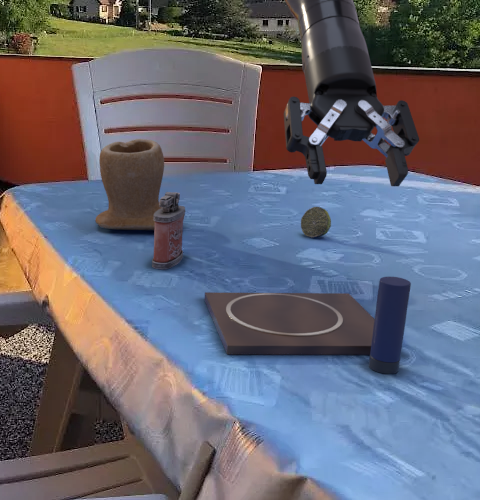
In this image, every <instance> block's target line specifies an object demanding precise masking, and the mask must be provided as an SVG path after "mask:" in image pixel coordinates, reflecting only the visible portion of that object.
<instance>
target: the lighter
mask: <svg viewBox="0 0 480 500" xmlns="http://www.w3.org/2000/svg"><path fill="white" fill-rule="evenodd" d="M180 195H181V193H180V192H177V191H175V192H174V191H172V192H171V191H166V192H165V193H164V195H163V196H161V197H160V198H159V207H163V208H161V209H159V210H157V211H156V212H155V213H154V218H153V220H154V221H155V230H153V231H154V233H153V234H154V235H153V237H154V239H153V258H152V260H151V267H152V268H153V269H156V270H169V269H171V268H174V267H175V266H177V265H178V264H179V263H180V262H181V261H182V259H183V257H184V250H183V232H184V220H183V215H184V213H185V214H186V207H185V206H184V205H180V204H179V202H180Z"/></svg>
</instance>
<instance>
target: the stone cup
mask: <svg viewBox="0 0 480 500" xmlns="http://www.w3.org/2000/svg"><path fill="white" fill-rule="evenodd" d="M98 160H99V172H100V178H101V181H102V185H103V188H104V191H105V193H106V197H107V200H108V208H107V209H106V210H103V211H102V212H100V213H99V214H97V215H96V217H95V224H96V225H98V226H99V227H100V228H103V229H107V230H120V231H121V230H122V231H155V221H154V220H153V218H154V213H155V212H156V211H157V210H159V209H161V208H163V207H159V200H160V190H161V188H162V187H161V186H162V183H163V176H164V170H165V158H164V153H163V150H162V147H161V146H160V144H159V143H158V142H157V141H155V140H152V139H144V138H136V139H132V140H129V141H125V142H122V141H115V142H112V143H109V144H107V145H105V146H103V148H102V149H101V151H100V153H99V159H98ZM185 215H186V212H185V213H184V215H183V221H184V219H185Z"/></svg>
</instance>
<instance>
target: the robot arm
mask: <svg viewBox="0 0 480 500" xmlns="http://www.w3.org/2000/svg"><path fill="white" fill-rule="evenodd" d="M284 2H285V3H286V5H287V7H288V9H289V11H290V14H291V15H292V16H293V18H294V19H295V20H296V23H297V26H298V32H299V38H300V44H301V62H302V65H301V67H302V72H303V73H304V80H305V85H306V91H307V97H308V102H301V100H300V98H298V97H297V96H291V97H289V99H288V100H287V101H288V102H287V104H286V106H285V109H284V111H283V122H284V136H285V147H286V150H287V152H289V153H295V152H298V153H301V154H302V155H303V156H304V158H305V164H306V165H305V166H306V170H307V176H308V178H309V180H313V183H314V185H323V184H324V182H325V180H326V178H327V174H328V171H327V166H326V161H325V160H326V159H325V154H324V149H323V144H324V143H325V141H326V140H327V139H328V138H331V139H333V141H334V142H342V141H352V142H362V141H363V142H364V143H365V144H366V145H368V146H369V147H370V148H371V149H373V150H376V149H377V151H379V152H380V154H382V155H383V156H384V157H385V159H384V162H385V166H386V171H387V174H388V179H389V183H390V186H391V187H400V185H402V182H403V181H404V180H405V179H406V177H407V176H408V174H409V167H408V164H407V159H406V157H408V156H410V155H411V153H412V151H414V148H415V147H416V146H417V144H418V143H419V142H420V136H419V133H418V131H417V128H416V125H415V121H414V119H413V118H414V117H413V115H412V113H411V110H410V107H409V104H408V102H407V101H405V100H403V99H402V100H398V101H397V103H396V104H395V105H383V103H382V102H381V101H380V100H379V99H378V95H377V83H376V79H375V75H374V71H373V67H372V63H371V58H370V55H369V50H368V49H369V48H368V45H367V42H366V39H365V37H364V34H363V32H362V30H361V26H360V22H359V17H358V12H357V9H356V5H355V3H354V0H284ZM306 116H308V118H309V119H310V120H311V121H312V122H313V123H314V124H315V125H316V126H317V127H316V129H315V130H313V132H312V133H311V135H310V136H306V135H304V132H303V121H304V119H305V117H306ZM374 129H376V131H377V132H376V133H375V134H374V133H373V130H374Z"/></svg>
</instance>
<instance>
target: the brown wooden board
mask: <svg viewBox="0 0 480 500" xmlns="http://www.w3.org/2000/svg"><path fill="white" fill-rule="evenodd" d="M203 300H204V302H205V305H206V307H207V309H208V312H209V314H210V317H211V319H212V322H213V324H214V326H215V329H216V331H217V333H218V337H219V339H220V341H221V343H222V345H223V348H224V350H225V353H226V355H263V356H265V355H267V356H268V355H269V356H270V355H272V356H273V355H277V356H278V355H283V356H284V355H285V356H286V355H288V356H289V355H290V356H291V355H294V356H295V355H296V356H297V355H300V356H301V355H303V356H304V355H305V356H306V355H307V356H308V355H310V356H312V355H317V356H318V355H320V356H322V355H323V356H324V355H325V356H333V355H335V356H336V355H337V356H340V355H341V356H343V355H344V356H349V355H350V356H352V355H353V356H370V351H371V344H372V336H373V328H374V320H375V317H373V316H372V314H370V313H369V312H368V311H367V310H366V309H365V308H364V307H363V306H362V305H361V303H359V302H358V301H357V300H356V299H355V298H354V296H352V295H351V294H350V293H348V292H346V293H342V292H337V293H335V292H331V293H329V292H326V293H325V292H215V291H214V292H213V291H212V292H211V291H210V292H209V291H207V292H206V291H205V292H204V299H203Z"/></svg>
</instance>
